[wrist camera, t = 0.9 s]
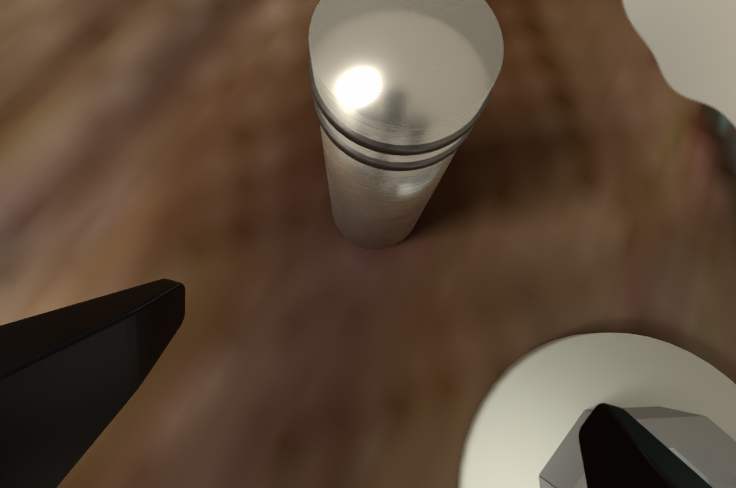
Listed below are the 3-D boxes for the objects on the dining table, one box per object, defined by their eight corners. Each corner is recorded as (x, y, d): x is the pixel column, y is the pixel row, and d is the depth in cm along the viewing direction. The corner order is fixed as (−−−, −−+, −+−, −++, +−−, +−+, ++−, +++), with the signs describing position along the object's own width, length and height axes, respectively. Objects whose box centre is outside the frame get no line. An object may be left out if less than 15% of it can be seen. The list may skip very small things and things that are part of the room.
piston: (377, 269, 21) (416, 169, 9) (311, 208, 22) (261, 36, 10) (437, 207, 23) (546, 39, 10) (373, 151, 23) (399, -70, 11)
